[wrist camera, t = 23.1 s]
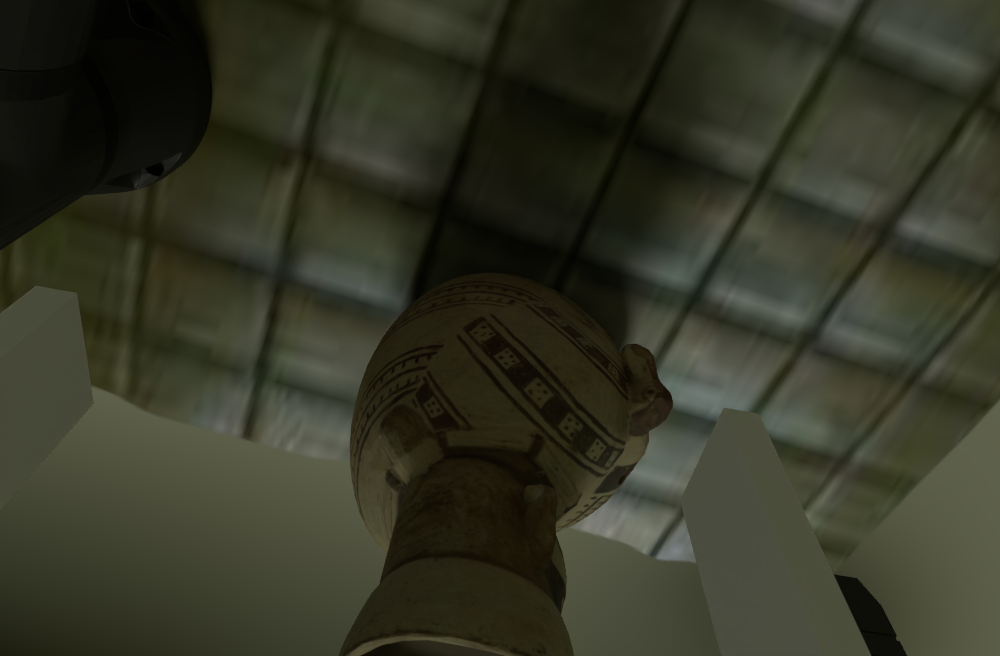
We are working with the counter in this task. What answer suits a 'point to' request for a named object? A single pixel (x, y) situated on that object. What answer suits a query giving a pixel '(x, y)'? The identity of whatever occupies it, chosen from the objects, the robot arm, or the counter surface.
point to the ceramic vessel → (489, 463)
